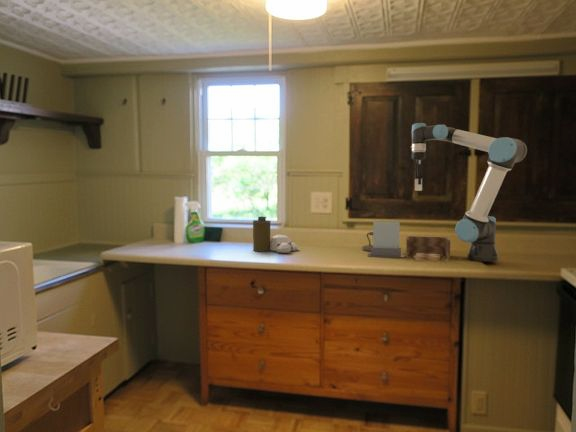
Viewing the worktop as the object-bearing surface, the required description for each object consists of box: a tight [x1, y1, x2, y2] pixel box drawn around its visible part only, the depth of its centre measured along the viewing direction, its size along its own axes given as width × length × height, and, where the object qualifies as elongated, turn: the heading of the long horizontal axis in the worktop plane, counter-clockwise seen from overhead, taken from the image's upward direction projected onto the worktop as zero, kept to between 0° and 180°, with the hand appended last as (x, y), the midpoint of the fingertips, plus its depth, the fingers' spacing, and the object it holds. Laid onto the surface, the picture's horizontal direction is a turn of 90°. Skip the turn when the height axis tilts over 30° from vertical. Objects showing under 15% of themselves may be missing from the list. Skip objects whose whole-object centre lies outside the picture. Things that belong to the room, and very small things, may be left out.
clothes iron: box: [361, 231, 373, 252], centre depth 268 cm, size 14×10×12 cm
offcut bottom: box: [413, 258, 443, 262], centre depth 244 cm, size 14×5×1 cm, turn 72°
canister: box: [252, 216, 272, 253], centre depth 274 cm, size 11×10×20 cm
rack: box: [405, 235, 451, 261], centre depth 253 cm, size 22×15×10 cm
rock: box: [270, 234, 299, 254], centre depth 273 cm, size 18×20×10 cm
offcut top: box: [416, 253, 440, 258], centre depth 244 cm, size 12×4×1 cm, turn 71°
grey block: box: [367, 247, 405, 259], centre depth 254 cm, size 19×8×5 cm, turn 77°
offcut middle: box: [413, 255, 440, 261], centre depth 244 cm, size 13×5×1 cm, turn 71°
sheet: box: [372, 221, 401, 249], centre depth 253 cm, size 14×2×18 cm, turn 77°
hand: (418, 190), depth 256 cm, fingers open, 13 cm apart
